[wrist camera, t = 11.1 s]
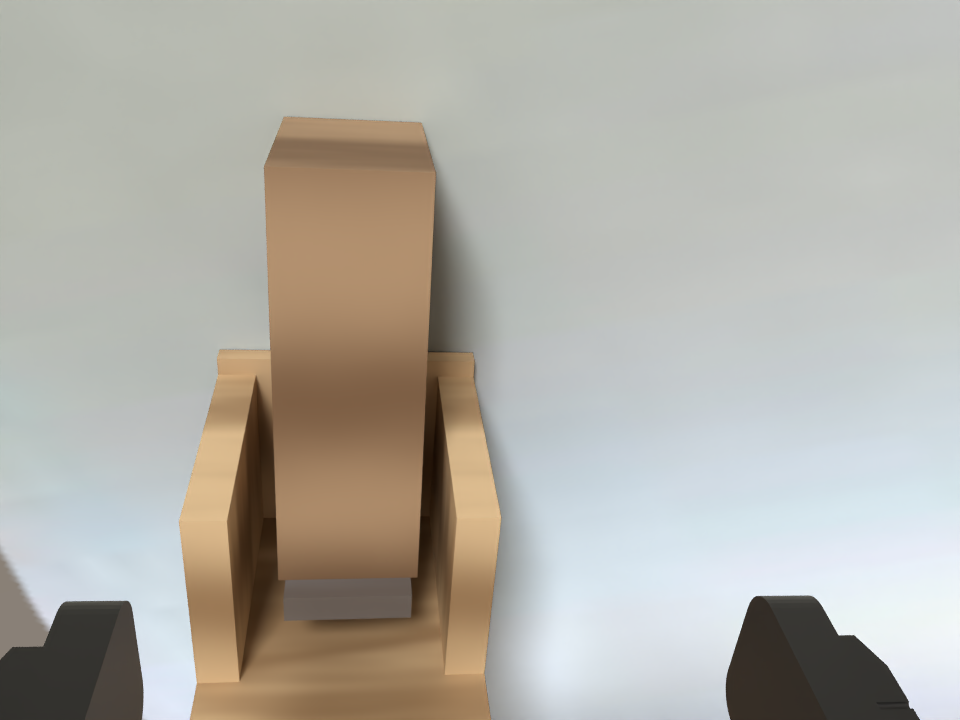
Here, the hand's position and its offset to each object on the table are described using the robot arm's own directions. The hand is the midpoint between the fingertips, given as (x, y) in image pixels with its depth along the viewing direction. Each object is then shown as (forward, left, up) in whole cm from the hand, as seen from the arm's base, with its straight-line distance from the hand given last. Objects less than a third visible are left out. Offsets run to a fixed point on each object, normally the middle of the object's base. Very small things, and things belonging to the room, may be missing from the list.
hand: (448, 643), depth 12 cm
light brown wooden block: (+4, -1, -18) cm, 19 cm away
